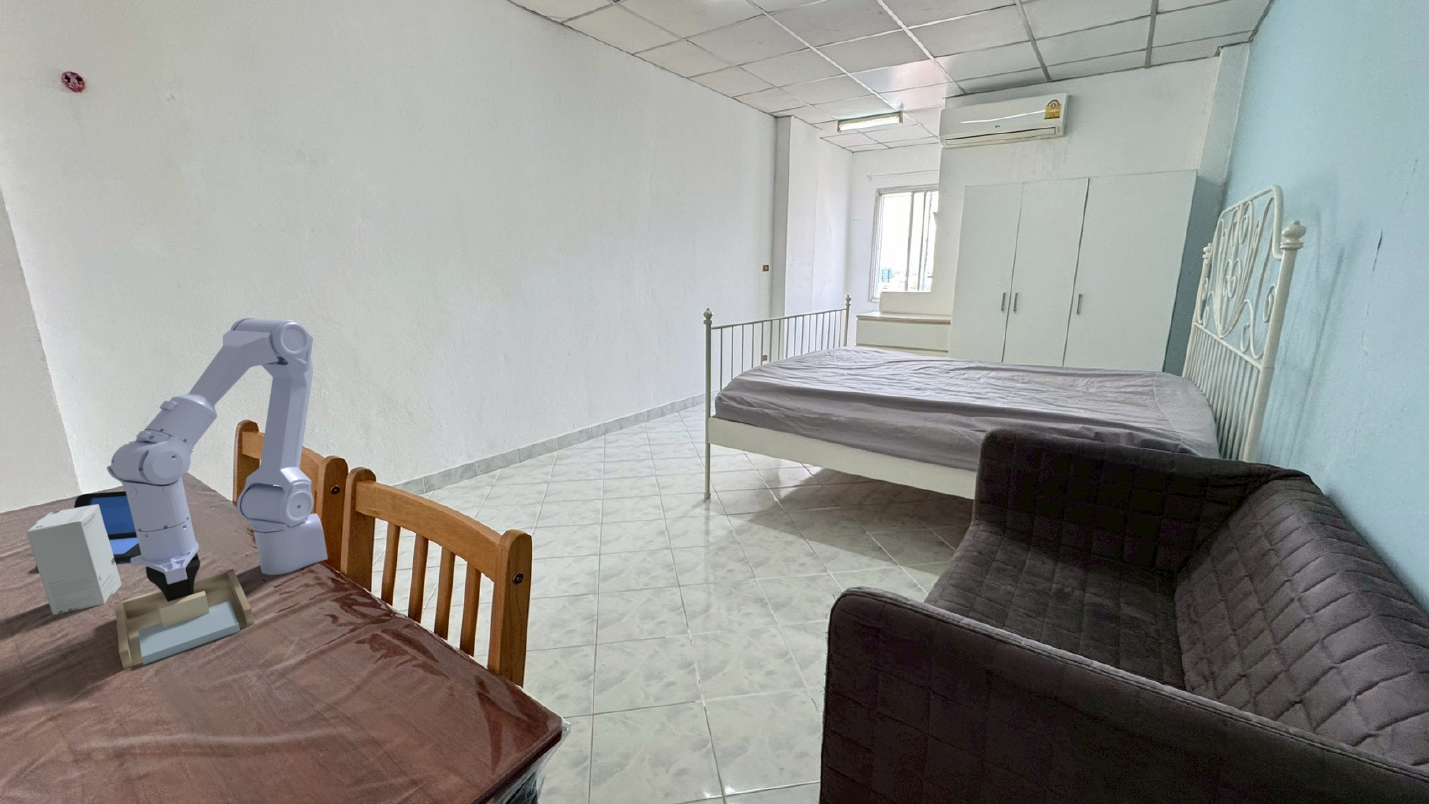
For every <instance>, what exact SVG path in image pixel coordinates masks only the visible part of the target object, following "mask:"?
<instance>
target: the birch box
mask: <svg viewBox="0 0 1429 804" xmlns="http://www.w3.org/2000/svg"><path fill="white" fill-rule="evenodd" d="M202 591H205V594H206V598H207V602H208V607H212V606H215V605H218V604H221V603H225V602H228V601H230V603H231V606H232V608H233V611H234V613H235V616H236V618H237V621H238V623H239V628H240V629H242V628H246V627H248V626H251V625H254V624H255V621H254V617H253V616H254V615H253V611H252V608H251V605H250V603H249V601H248V598H247V596H246V594H245V592H244V590H243V588H242V585H241V583H240V581H239V578H238V576H237V574H236V572H235V570H234V568H231V569H227V570H224V571H221V572H216V573H213V574H210V575H206V576H203V577H200V578H197V579H196V578H195V581H194V594H196V593H199V592H202ZM166 602H168V601H167V600H166V598H165V596H164V594H163V592H162V591H161V590H160V589H157V590H155V591H151V592H149V593H145V594H141V595H138V596H133V597H130V598H127V599H123V600H120V601H117V602H114V607H115V620H116V631H117V641H118V643H117V645H118V654H119V657H120V661H121V664H122V669H123V670H125V669H128V668H131V667H134V666H136V665H139V664H143V660H142V655H141V647H140V640H139V632H138V630H140V629H143V628H146V627H149V626H152V625H156V624H159V623H162V619H161V615H160V611H159V606H158V605H159V604H162V603H166Z"/></svg>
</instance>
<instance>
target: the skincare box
mask: <svg viewBox="0 0 1429 804" xmlns="http://www.w3.org/2000/svg"><path fill="white" fill-rule="evenodd" d="M26 536H27V539H28V542H29V545H30V548H31V552H32V555H33V557H34V561H35V565H36V564H37V566H36V568H37V567H38V569H37V570H38V573H39V577H40V579H41V582H42V583H41V584H42V586H43V589H44V591H45V595H46V598H47V601H48V604H49V607H50V611H51V614H52V616H53V615H59V614H64V613H68V612H69V613H70V612H72V611H73V612H74V611H78V610H82V609H87V608H91V607H97V606H100V605H104V604H106V603H107V601H108V599H109V598H110V596H111V595H113V594H115V593H117V591H118V590H119V589H120V588H121V586H122V581H121V577H120V573H119V569H118V567H117V563H115V559H114V556H113V552H112V549H111V545H110V542H109V539H108V535H107V532H106V529H105V526H104V522H103V519H102V515H101V511H100V508H99V505H98V504H97V505H90V506H84V507H78V508H74V507H73V508H68V509H61V510H56V511H51V512H49V513H47V514H46V515H45V516H44V517H43V518H41V519H38V520H37V521H36V522H35V524H34V525H33V526H31V527H30V528H29V529H28V530H26Z"/></svg>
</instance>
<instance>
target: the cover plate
mask: <svg viewBox="0 0 1429 804" xmlns="http://www.w3.org/2000/svg"><path fill="white" fill-rule="evenodd" d="M158 606H159V611H160V615H161V619H162V623H159V624H156V625H152V626H149V627H146V628H143V629H140V630H138V632H139V640H140V647H141V655H142V660H143V663H142V664H143V665H147V664H151V663H153V662H156V661H158V660H161V659H165V658H168V657H170V656H173V655H176V654H178V653H181V652H184V651H187V650H191V649H192V648H193V649H194V648H195V647H198V646H201V645H204V644H208V643H209V642H213V641H216V640H218V639H221V638H224V637H227V636H229V635H233V634H236V633H238V632H241V628H239V623H238V621H237V618H236V616H235V613H234V611H233V608H232V606H231V603H230V601H228V602H225V603H221V604H218V605H215V606H212V607H208V602H207V598H206V594H205V591H202V592H199V593H196V594H192V595H189V596H186V597H182V598H179V599H176V600H172V601H169V602H166V603H162V604H159V605H158Z"/></svg>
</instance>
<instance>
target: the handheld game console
mask: <svg viewBox="0 0 1429 804" xmlns="http://www.w3.org/2000/svg"><path fill="white" fill-rule="evenodd" d="M97 504H98V505H99V508H100V511H101V515H102V519H103V522H104V526H105V529H106V532H107V535H108V539H109V542H110V545H111V549H112V552H113V556H114V559H115V563H116V564H117V563H124V562H131V560H130V559H131V558H132V557H135V556H139V555H141V551H140V546H139V542H138V538H137V534H136V530H135V526H134V522H133V518H132V514H131V510H130V506H129V502H128V498H127V494H126V491H124V490H122V491H121V490H120V491H106V492H105V491H104V492H94V493H93V492H92V493H84V494H83V493H82V494H81V495H79V496H77V497H76V499H75V502H74V505H73V508H78V507H84V506H90V505H97ZM35 566H36V569H37V570H38V567H37V564H36V563H35Z"/></svg>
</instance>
